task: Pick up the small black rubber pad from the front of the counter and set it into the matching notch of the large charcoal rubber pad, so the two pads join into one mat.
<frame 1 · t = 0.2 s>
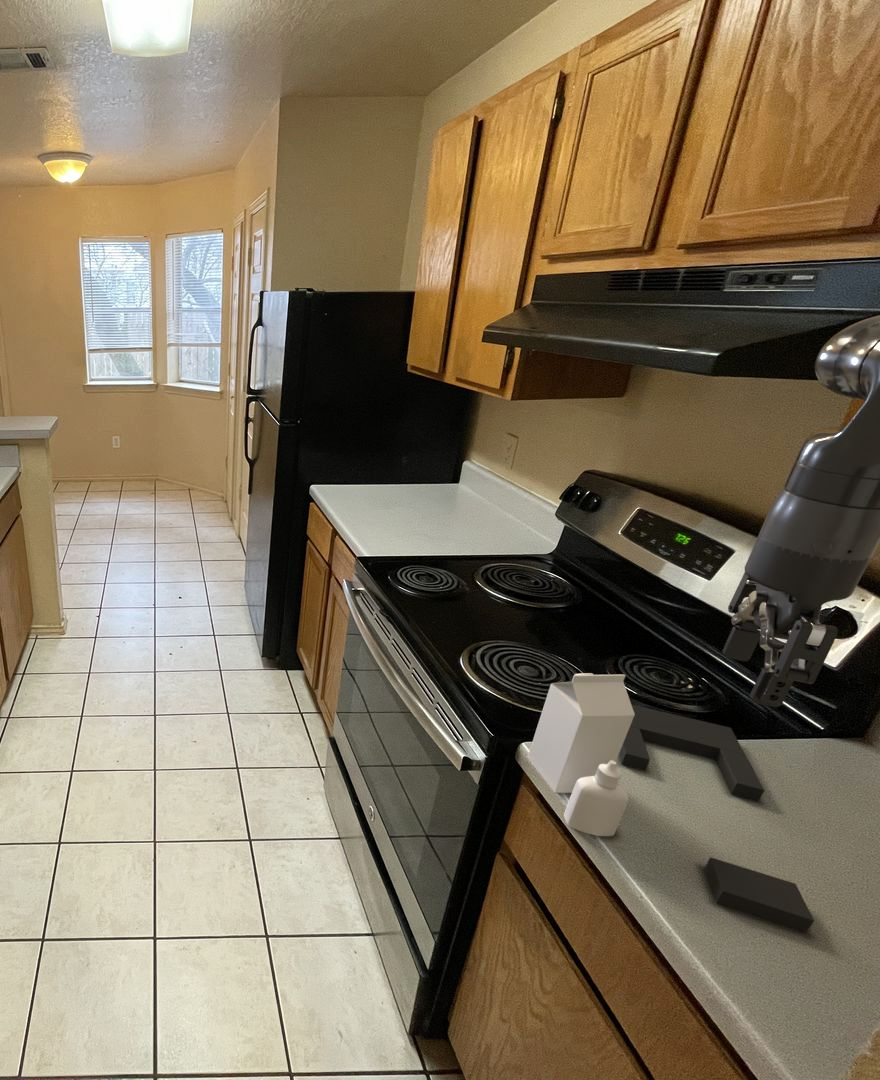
hand: (748, 679, 63), 30 cm above the counter, tool pointing down, fingers open, 8 cm apart
milk carton: (562, 778, 89), on the counter
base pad: (673, 754, 93), on the counter
eye dropper bottle: (586, 829, 81), on the counter
small pad: (749, 903, 71), on the counter
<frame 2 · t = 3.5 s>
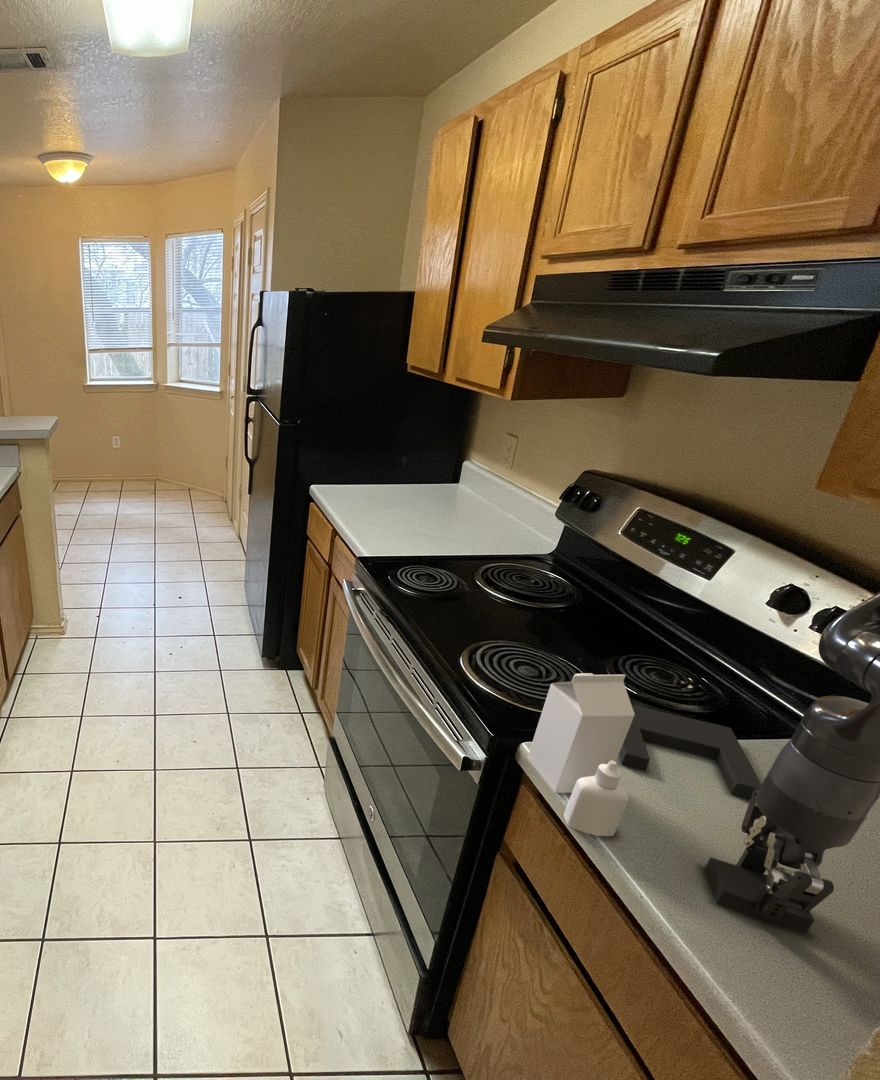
hand: (755, 892, 70), 2 cm above the counter, tool pointing down, fingers closed on small pad, 5 cm apart
small pad: (749, 903, 71), on the counter, touching gripper
everything else where it was.
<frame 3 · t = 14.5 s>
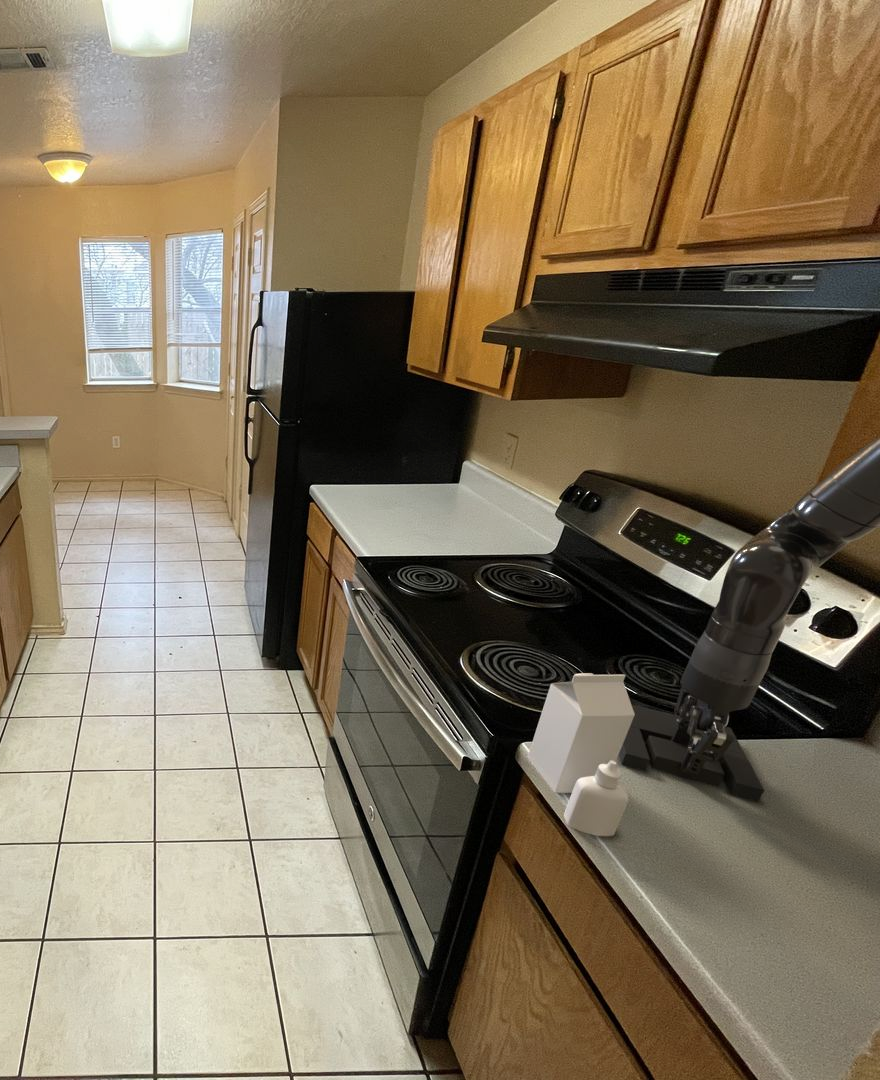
hand: (683, 758, 89), 2 cm above the counter, tool pointing down, fingers closed on small pad, 5 cm apart
small pad: (678, 768, 90), on the counter, touching gripper
everything else where it was.
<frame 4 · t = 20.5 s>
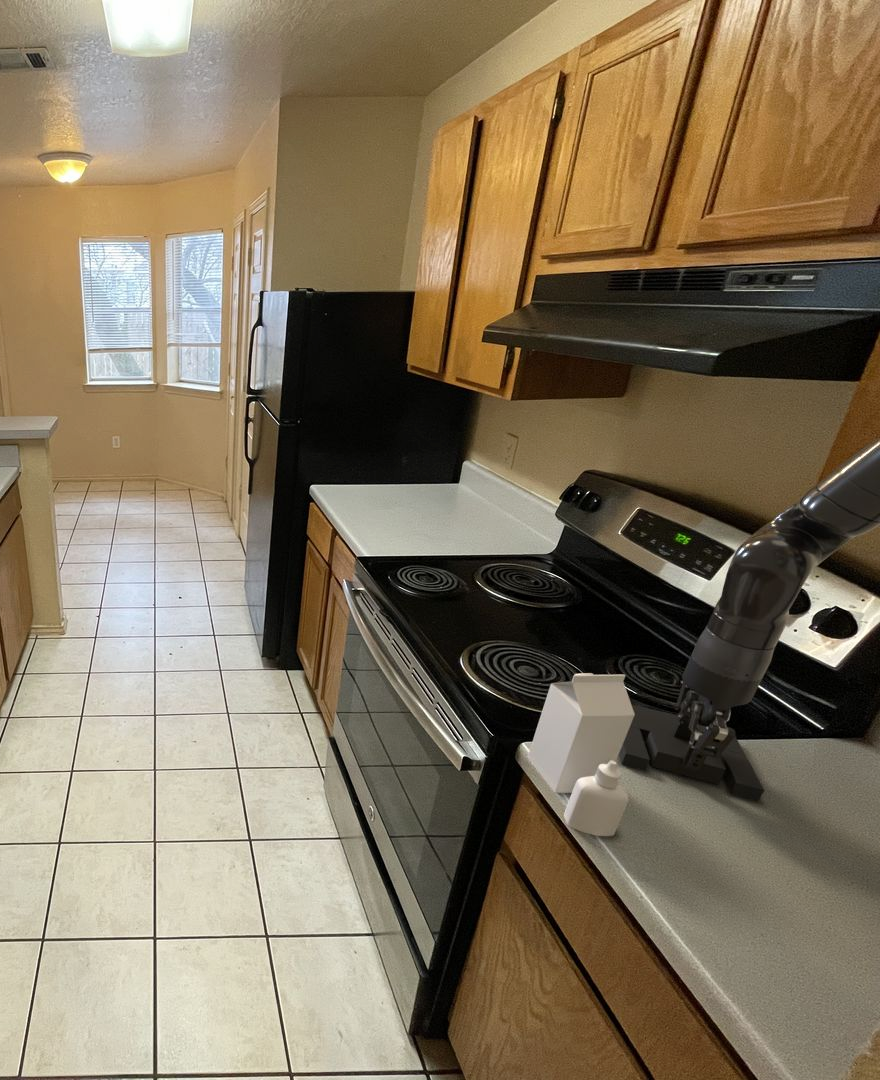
hand: (684, 754, 89), 3 cm above the counter, tool pointing down, fingers closed on small pad, 5 cm apart
small pad: (679, 764, 90), point 1 cm above the counter, touching gripper
everything else where it was.
when the fingers open (5 cm above the counter, at t = 25.9 s): small pad drops 3 cm, on the counter.
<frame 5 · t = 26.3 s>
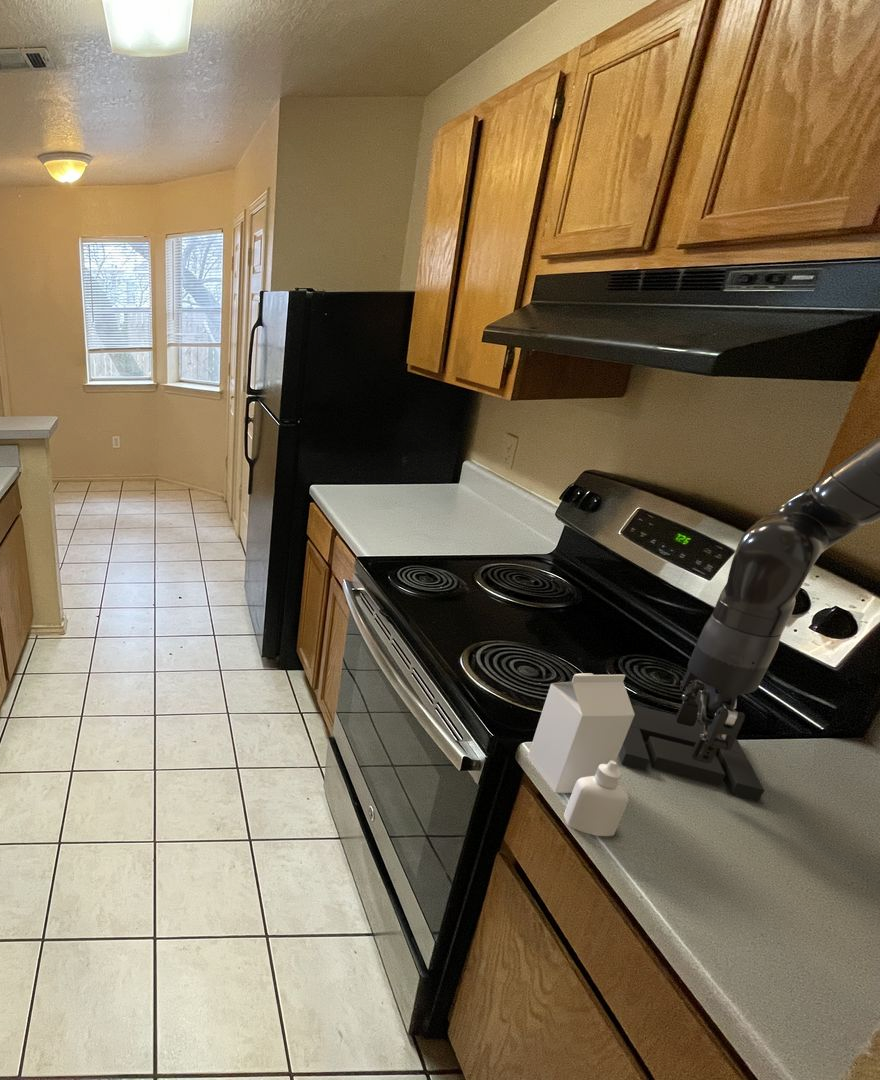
hand: (691, 740, 88), 6 cm above the counter, tool pointing down, fingers open, 8 cm apart
small pad: (679, 769, 90), on the counter
everything else where it was.
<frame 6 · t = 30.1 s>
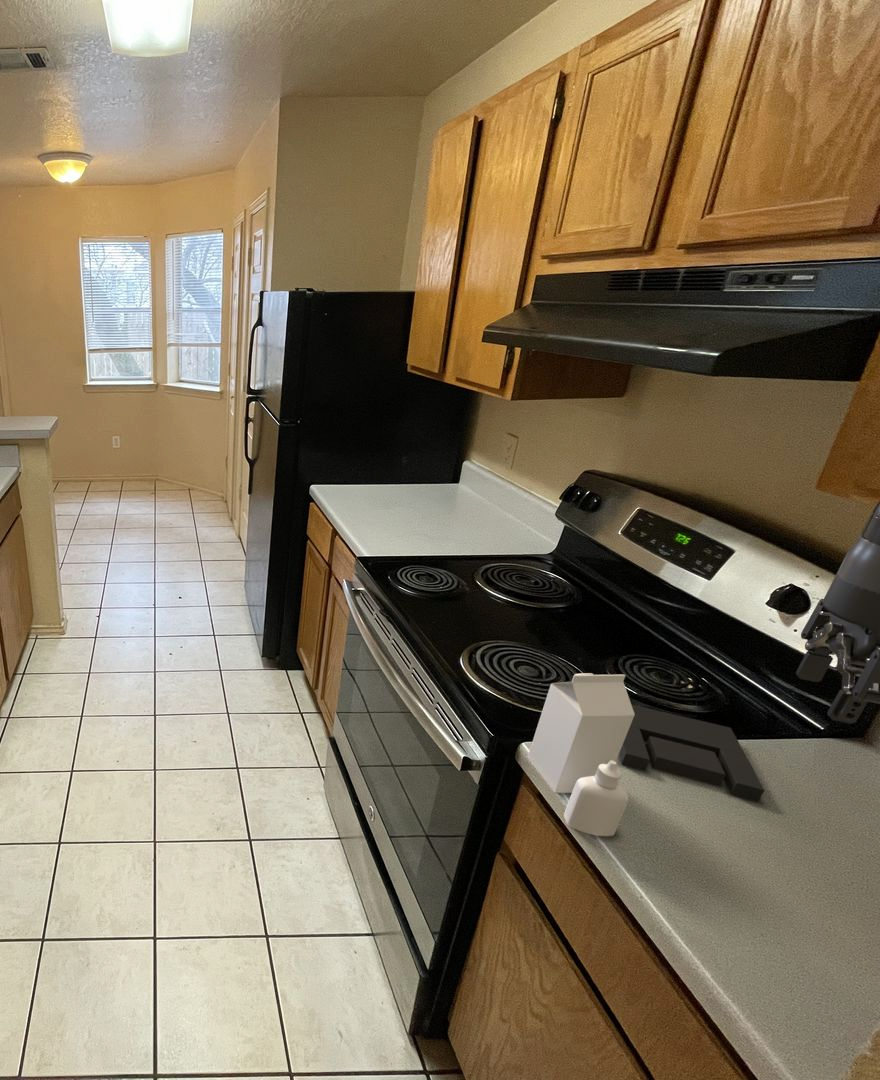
hand: (822, 698, 72), 22 cm above the counter, tool pointing down, fingers open, 8 cm apart
nothing on the counter moved.
at the end: small pad 0.2 cm from the target spot on the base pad, point 0.0 cm above the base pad's base; small pad tilted 0°; the gripper is holding nothing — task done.
